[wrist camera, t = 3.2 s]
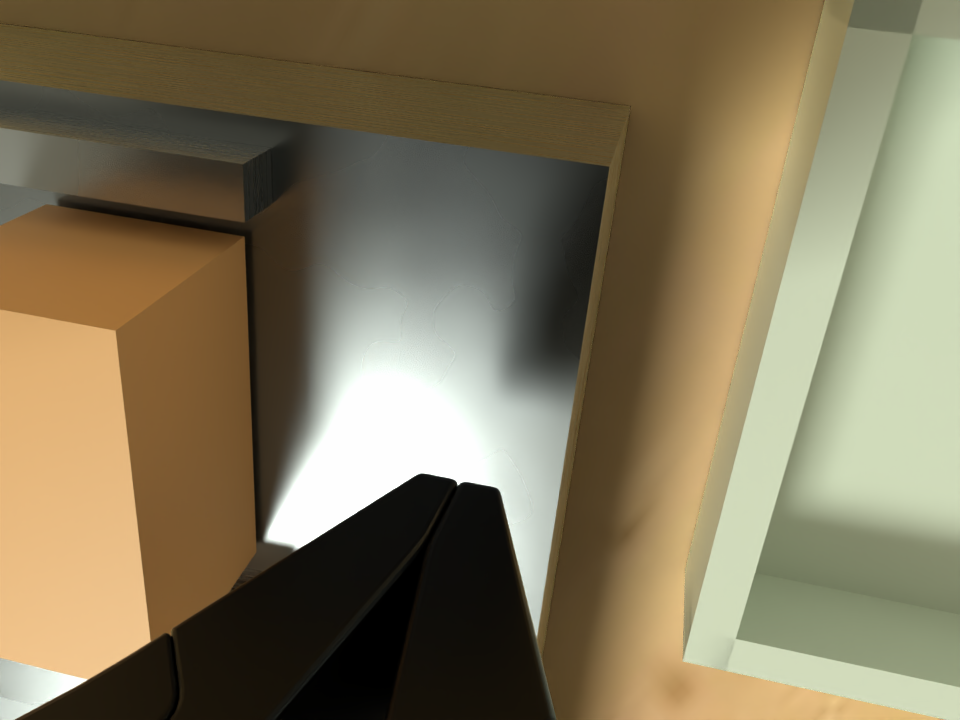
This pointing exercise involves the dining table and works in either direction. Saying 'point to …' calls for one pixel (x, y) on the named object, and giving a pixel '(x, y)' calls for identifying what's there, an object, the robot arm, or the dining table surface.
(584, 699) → the dining table surface
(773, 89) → the dining table surface
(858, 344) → the tray
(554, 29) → the dining table surface
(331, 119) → the metallic box with opening
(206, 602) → the block
